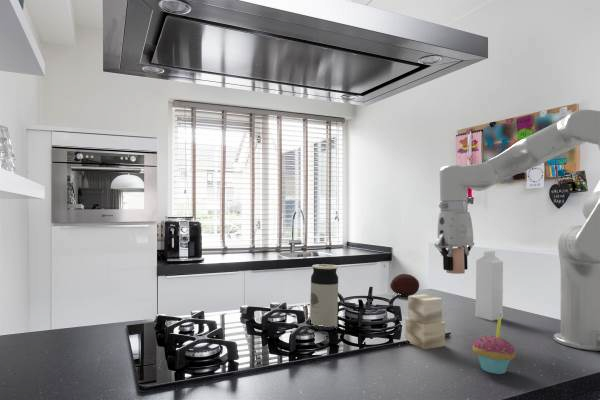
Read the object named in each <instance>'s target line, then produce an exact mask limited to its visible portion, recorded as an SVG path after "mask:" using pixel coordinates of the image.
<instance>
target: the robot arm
mask: <svg viewBox="0 0 600 400" xmlns="http://www.w3.org/2000/svg"><path fill="white" fill-rule="evenodd" d="M585 143H588V144H593V145H597V147H598V150H599V151H600V110H595V109H594V110H593V109H578V110H575V111H571V113H569V114H568V115H566V116H565V117H563V118H561V119H559V120H558V121H556V122H554V123H552V124H550V125H548V126H546V127H544V128H542V129H541V130H538V131H536V132H535V133H532V134H530V135H528V136H526V137H524V138H522V139H521V140H519V141H517V142H516V143H513V145H512V146H510V147H509V148H507V149H505V150H504V151H503V152H501V153H499V154H498V155H496V156H494V157H492V158H490V159H488V160H485V162H479V163H474V164H468V165H457V164H454V165H444V166H442V167H440V170H439V205H438V207H439V209H440V212H439V214H438V221H437V238H436V239H437V240H436V242H435V243H434V247H435V249H437V250H438V251H439V253H440V256H442V262H443V263H442V266H443V267H442V268H443V270H444V271H446V270H448V271H453V257H451V254H452V249H453V248H464V266H465V270H468V267H469V266H468V256H470V252H471V250H472V248H473V246H474V245H475V242H474V232H473V231H474V227H473V222H472V216H471V213H470V212H469V207H468V189H471V190H473V191H476V192H477V191H478V192H482V191H485V190H486V189H487V190H488V189H489V188H491V187H493V186H495V185H497V184H499V183H501V182H503V181H505V180H507V179H509V178H511V177H513V176H515V175H517V174H520V173H524V172H527V171H528V170H531V169H533V168H536V167H538V166H540V165H542V164H545V162H548V161H550V160H552V159H555V158H556V157H559V156H560V155H563V154H565V153H567V152H569V151H571V150H573V149H574V148H576V147H577V148H578V146H581V145H583V144H585ZM582 214H583V217H584V218H585V219H586V221H585V222H584V223H583V225H580V224H579V225H574V226H570V227H568V228H566V229H565V230H564V231H562V233H561V234H560V236H559V237H558V242H557V251H558V258H559V267H560V332H557V333H554V334H553V340H554V341H555V342H557V343H559V344H561V345H564V346H567V347H571V348H575V349H579V350H586V351H595V352H600V179H599V180H598V181H597V183H596V185H595V186H594V188H593V189H592V191H591V192H590V194H589V195H588V197H587V198H586V200H585V201H584V203H583V206H582ZM447 248H448V251H447V250H446V249H447Z"/></svg>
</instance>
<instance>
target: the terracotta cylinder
mask: <svg viewBox="0 0 600 400" xmlns="http://www.w3.org/2000/svg"><path fill="white" fill-rule="evenodd" d="M446 250H447V251H448V248H447V249H446ZM451 257H453V271H448V270H445V271H446V272H445V273H447V274H454V275H455V274H459V275H460V274H461V275H462V274H463V275H464V274H465V266H464V248H457V247H453V249H452V254H451Z"/></svg>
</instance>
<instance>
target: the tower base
mask: <svg viewBox="0 0 600 400" xmlns="http://www.w3.org/2000/svg"><path fill="white" fill-rule="evenodd" d="M404 320H405V324H404V325H405V328H404V330H405V331H404V333H405V334H404V335H405V336H404V338H405V339H406V340H408V341H409V342H410V343H409V344H411V345H413V346H415V347H418V348H419V349H423V350H428V349H434V348H441V347H445V346H446V322H445V321H442V322H439V323H432V324H422V323H419V322H416V321H413V320H410V319H408V317H407V318H405V319H404ZM405 339H404V340H405Z"/></svg>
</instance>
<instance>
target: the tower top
mask: <svg viewBox="0 0 600 400" xmlns="http://www.w3.org/2000/svg"><path fill="white" fill-rule="evenodd" d="M407 318H408V319H410V320H413V321H416V322H419V323H422V324H432V323H439V322H443V320H442V319H443V298H441V297H437V296H432V295H429V294H413V295H411V296H407Z"/></svg>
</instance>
